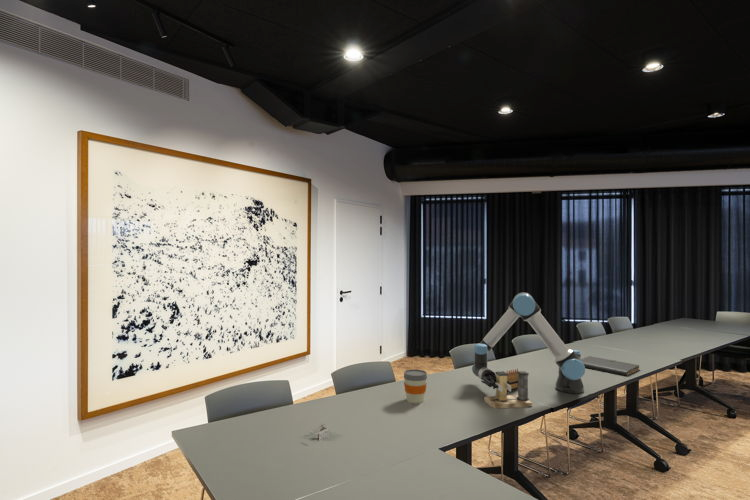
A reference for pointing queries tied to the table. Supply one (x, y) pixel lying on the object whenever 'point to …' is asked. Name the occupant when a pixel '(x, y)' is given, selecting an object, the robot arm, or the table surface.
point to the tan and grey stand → (513, 400)
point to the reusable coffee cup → (415, 385)
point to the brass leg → (502, 380)
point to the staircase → (321, 432)
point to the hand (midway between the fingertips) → (506, 388)
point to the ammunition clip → (513, 379)
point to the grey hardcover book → (609, 366)
